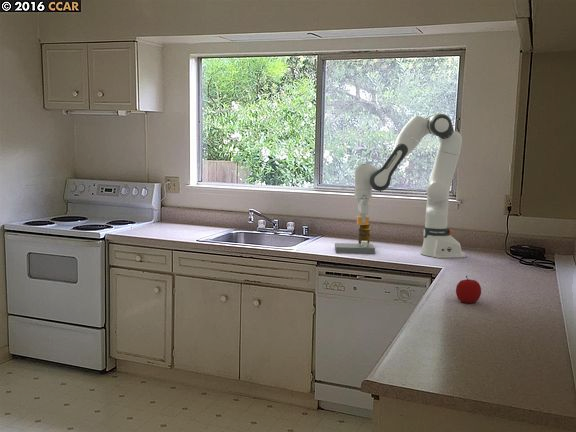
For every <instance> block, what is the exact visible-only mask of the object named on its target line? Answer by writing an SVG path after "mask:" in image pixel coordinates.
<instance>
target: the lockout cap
mask: <svg viewBox="0 0 576 432" xmlns="http://www.w3.org/2000/svg"><path fill="white" fill-rule="evenodd" d="M369 219H370V218H369V215H366V219H365V222H362V216H360V215H356V225H357V226H360V225H369V226H370V223H369V222H370V221H369Z"/></svg>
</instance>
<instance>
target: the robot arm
mask: <svg viewBox="0 0 576 432" xmlns="http://www.w3.org/2000/svg"><path fill="white" fill-rule="evenodd" d="M429 134H430V135H433V136H435V137H438V139H439V140H438V141H439V143H438V148H437V150H436V155H435V158H434V161H433V165H432V169H431V173H430V176H429V179H428V183H427V186H426V190H425V191H426V207H425V218H424V221H425V223H424V227H423V241H422V242H423V243H422V246H421V250H420V254H421V255H423V256H425V257H432V258H437V259H442V258H443V259H449V258H450V259H452V258H456V259H457V258H466V253H465V252H463V251H462V246H461V243H460V242H459V241H458V240H457V239H455V238H454V237H453V236H452V234H454V230H453V229H451V228H449V227H448V217H449V202H450V200H449V199H450V190H451V187H452V184H453V179H454V176H455V173H456V172H455V171H456V169H457V166H458V162H459V157H460V154H461V151H462V150H461V149H462V143H463V136H462V134H461V133H459V132H458V131H456V130H455V129H454V126H453V122H452V120H451V118H450V117H449V116H448V115H446V114H443V113H440V112H439V113H435V114H432V115H430V116H428V117H426V118H424V116H421V115H414V116H413V117H411V118H410V120H408V122H407V123H405V125H404V127H403V128H402V129H401V130H400V132H399V133H398V135H397V137H396V138H395V139H396V140H395V141H394V145H393V149H392V150H391V153H390V154H389V156H388V158H387V159H386V160H385V162H384V163H383V165H382V166H381V167H380V168H379V167H377V166H374V165H373V164H371V163H370V162H365V163H359V164H358V165H356V167H355V169H354V183H355V185H354V198H355V199H356V202H357V203H356V205H357V210H358V212H359V216H362V222H365V219H366V216H368V215H369V202H370V199H372V197H373V196H372V194H373V190H372V189H374V191H378V192H382V191H385V190H387V189H388V188H389V186H390V184H391V180H392V177H393V174H394V173H395V171H396V170H397V168H398V167H399V165H400V163H401V162H403V160H404V159H405V158H407V157H408V156H409V155H410V154H411V153H412V152H414V150H415V149H416V148H417V147H418V145H419V144H420V143H421V142H422V140H423V138H424V137H425V136H426V135H429Z"/></svg>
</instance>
